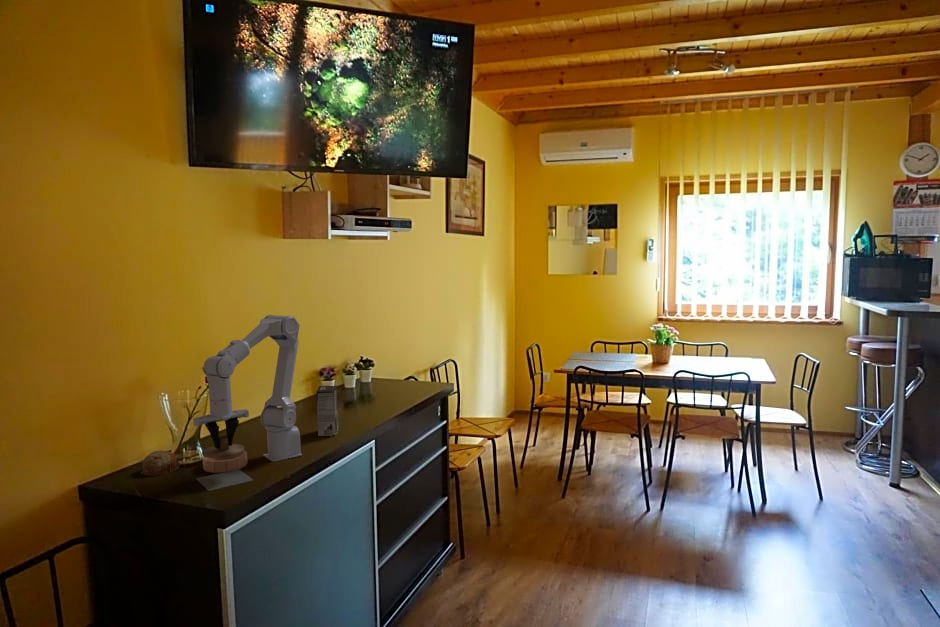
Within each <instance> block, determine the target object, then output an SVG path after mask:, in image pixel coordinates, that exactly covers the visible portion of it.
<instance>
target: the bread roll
mask: <svg viewBox="0 0 940 627" xmlns="http://www.w3.org/2000/svg"><path fill="white" fill-rule="evenodd" d="M179 461H180V457H178V456H177V455H176V454H175V453H173V452H171V451H169V450H162V449H161V450H154V451H152V452H150V453H149V454H147V455H146V456H145V458H144V459H143V460H142V462H141V463H142V464H141V465H142V466H141V473H140V475H143V476H149V477H155V476H163V475H166V474H169V473H172V472H175V471H177V470H178V469H179V468H180V462H179Z"/></svg>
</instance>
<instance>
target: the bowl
mask: <svg viewBox="0 0 940 627" xmlns="http://www.w3.org/2000/svg"><path fill="white" fill-rule="evenodd" d="M247 464H248V451H246V450H245V449H244V452H242V453H241V454H238V455H235V456H231V457H224V458H208V457H204V456H203V457H202V470H204V471H205V472H207V473H214V474H219V473H223V472H228V471H232V470H237V469H240V470H241V469H242V468H245V467H246V466H247Z"/></svg>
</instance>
